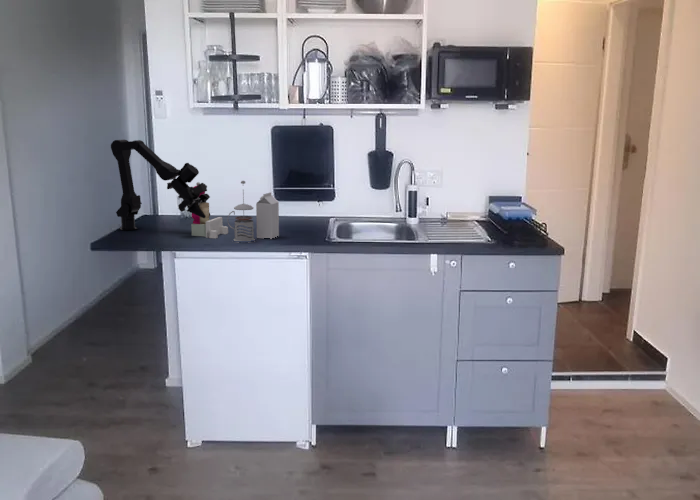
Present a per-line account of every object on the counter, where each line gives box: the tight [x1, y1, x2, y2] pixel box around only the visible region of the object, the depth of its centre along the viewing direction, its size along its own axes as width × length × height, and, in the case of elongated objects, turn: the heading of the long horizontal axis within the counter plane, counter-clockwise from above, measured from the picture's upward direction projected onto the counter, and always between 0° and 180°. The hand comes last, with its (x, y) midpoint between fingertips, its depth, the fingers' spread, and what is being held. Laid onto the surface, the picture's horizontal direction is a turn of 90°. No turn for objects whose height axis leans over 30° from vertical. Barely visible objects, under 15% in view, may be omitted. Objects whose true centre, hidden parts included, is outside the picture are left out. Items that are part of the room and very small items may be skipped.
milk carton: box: [255, 191, 280, 240], centre depth 271 cm, size 7×7×19 cm
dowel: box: [200, 201, 210, 224], centre depth 275 cm, size 4×4×12 cm
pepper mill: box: [191, 181, 206, 224], centre depth 298 cm, size 7×7×20 cm
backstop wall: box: [205, 216, 229, 239], centre depth 274 cm, size 4×12×7 cm, turn 165°
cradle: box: [190, 223, 206, 238], centre depth 276 cm, size 8×9×5 cm
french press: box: [227, 180, 256, 241], centre depth 263 cm, size 10×12×25 cm
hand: (207, 216), depth 274 cm, fingers closed on dowel, 4 cm apart
